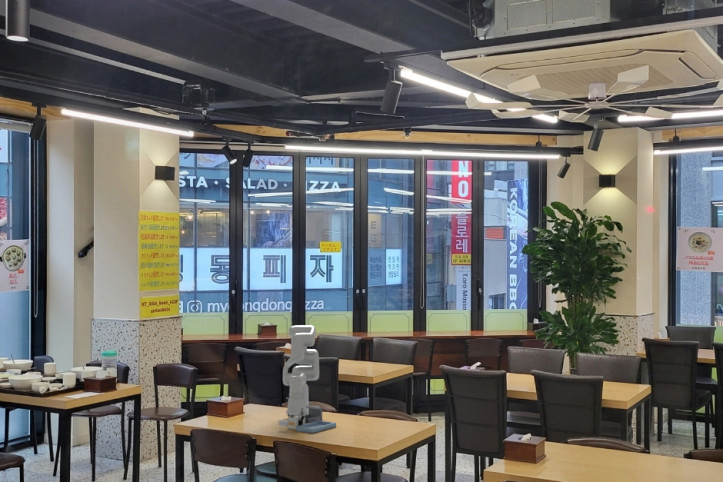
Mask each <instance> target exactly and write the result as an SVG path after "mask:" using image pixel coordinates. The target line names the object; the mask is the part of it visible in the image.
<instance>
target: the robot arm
mask: <svg viewBox="0 0 723 482" xmlns="http://www.w3.org/2000/svg"><path fill="white" fill-rule="evenodd" d="M316 329H317V328H316V327H315V326H313V325H292V326H290V327H288V335H289V337H290V340H291V342H290V357H289V358H288V360H287V361H286V362H285V364H284V366H283V369H282V383H283V385H284V386H287V387H288V386H289V393H288V396H289V398H288V399H287V400H288V401H287V409H286V411H285V413H286V415H287V418H290V417H294V416H298V417H299V426H300V425H303V420H304V418H305V416H306V415H308V414H309V408H306V406H308V405H309V404H310V403H309V399H310V398H309V392H310V391H309V385H308V384H307V381H317V380H319V378H320V356H319V352H318V350H317V349H314V348H313V349H311V348H309V349H308V347H314V345H315V342H316V335H317V330H316ZM294 364H297V365H296V366H294V367H293V368H292V371H291V372H288V371H289V368H291V366H292V365H294Z"/></svg>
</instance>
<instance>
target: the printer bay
mask: <svg viewBox="0 0 723 482" xmlns="http://www.w3.org/2000/svg"><path fill="white" fill-rule="evenodd" d="M306 408H309V414H308V415H306V416H305V424H307V423H311V422H315V421H319V420H320V421H323V406H321V405H312V404H310V405H308V406H306Z"/></svg>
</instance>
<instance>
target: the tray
mask: <svg viewBox="0 0 723 482" xmlns="http://www.w3.org/2000/svg"><path fill="white" fill-rule="evenodd" d="M334 428H337V423H336V422H334V421H333V422H332V421H326V420H322V421H320V420H319V421H315V422H311V423H308V422H307V423H305V424H303V425H300V426H296V429H295V432H299V433H300V432H301V433H306V434H315V433H320V432H324V431H327V430H331V429H334Z"/></svg>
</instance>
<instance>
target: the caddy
mask: <svg viewBox="0 0 723 482" xmlns="http://www.w3.org/2000/svg"><path fill="white" fill-rule="evenodd" d="M303 424H306V423H305V418H304V420H303ZM278 426H283V427H287V429H292V430H296V426H299V417H298V416H294V417H290V418H289V417H287V418H284V419H280V420H278Z"/></svg>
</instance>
